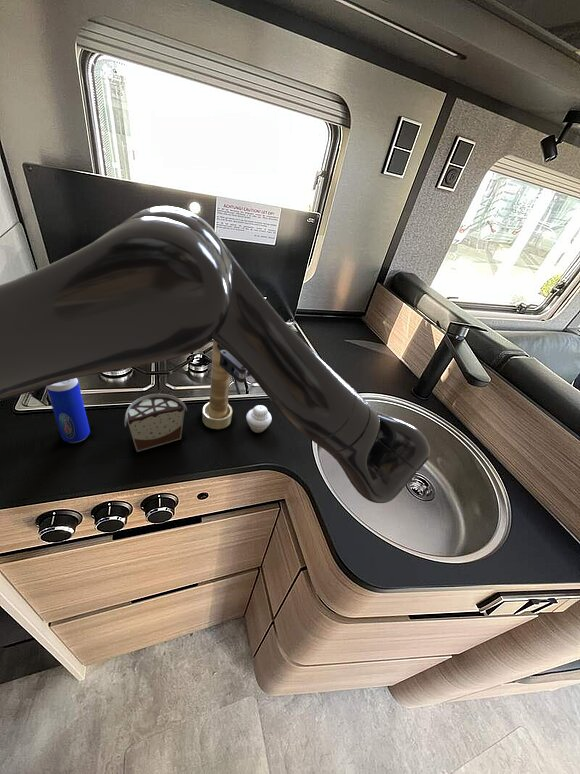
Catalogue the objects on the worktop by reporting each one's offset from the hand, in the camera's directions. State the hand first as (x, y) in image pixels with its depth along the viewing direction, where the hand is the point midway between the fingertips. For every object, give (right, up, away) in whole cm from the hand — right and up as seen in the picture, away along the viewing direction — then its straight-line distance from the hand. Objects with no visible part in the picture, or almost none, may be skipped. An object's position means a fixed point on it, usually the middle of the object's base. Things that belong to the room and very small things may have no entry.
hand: (240, 336), depth 59 cm
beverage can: (-37, -19, +12) cm, 43 cm away
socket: (-9, -17, +24) cm, 31 cm away
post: (-9, -17, +23) cm, 30 cm away
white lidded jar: (+1, -19, +24) cm, 31 cm away
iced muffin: (-21, -20, +16) cm, 33 cm away
